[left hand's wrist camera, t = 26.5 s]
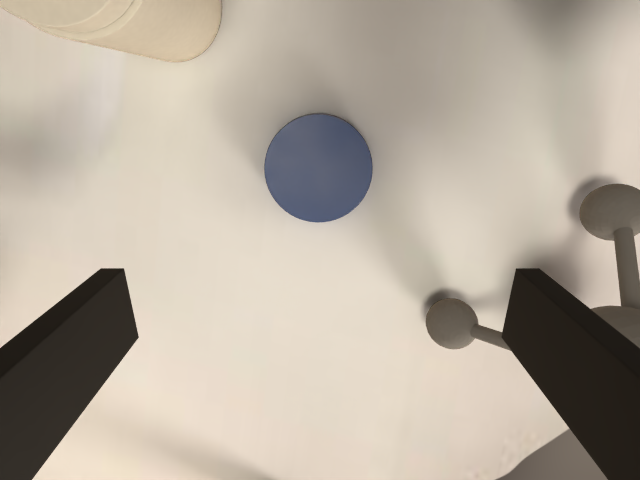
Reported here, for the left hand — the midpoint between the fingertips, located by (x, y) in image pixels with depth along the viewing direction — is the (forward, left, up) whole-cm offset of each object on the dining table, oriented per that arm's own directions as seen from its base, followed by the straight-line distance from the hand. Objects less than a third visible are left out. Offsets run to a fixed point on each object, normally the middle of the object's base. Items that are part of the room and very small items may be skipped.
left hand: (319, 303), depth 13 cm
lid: (0, 0, -25) cm, 25 cm away
